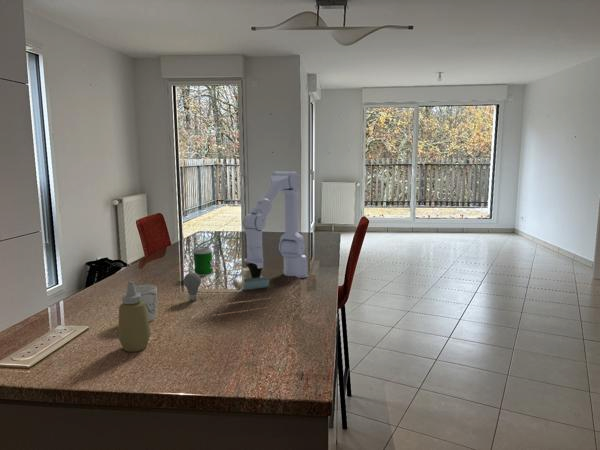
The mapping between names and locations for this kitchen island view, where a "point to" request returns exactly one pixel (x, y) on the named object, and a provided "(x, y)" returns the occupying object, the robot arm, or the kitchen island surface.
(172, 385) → the kitchen island surface
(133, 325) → the squeeze bottle
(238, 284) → the bed
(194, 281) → the light bulb
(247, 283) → the panel
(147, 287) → the mug
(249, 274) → the beige rectangular block
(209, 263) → the soda can
